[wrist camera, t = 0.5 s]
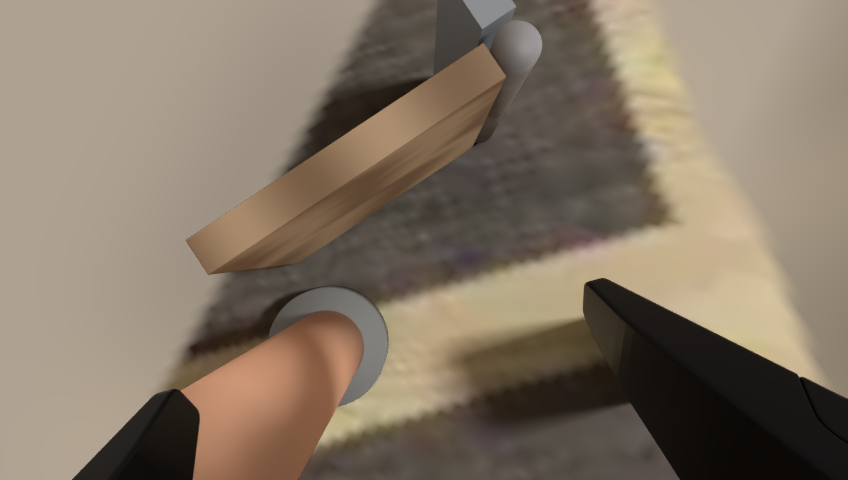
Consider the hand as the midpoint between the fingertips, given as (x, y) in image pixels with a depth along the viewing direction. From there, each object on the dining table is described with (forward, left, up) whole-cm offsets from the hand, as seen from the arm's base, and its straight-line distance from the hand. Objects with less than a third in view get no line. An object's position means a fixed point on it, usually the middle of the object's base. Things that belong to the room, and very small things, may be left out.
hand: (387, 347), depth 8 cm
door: (+6, -2, -15) cm, 17 cm away
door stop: (0, +6, -16) cm, 17 cm away
